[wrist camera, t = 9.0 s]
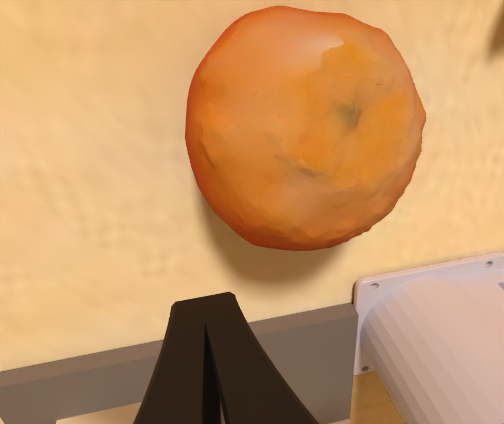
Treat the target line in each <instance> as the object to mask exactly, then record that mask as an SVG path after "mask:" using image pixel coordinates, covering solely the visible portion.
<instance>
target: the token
mask: <svg viewBox="0 0 504 424" xmlns="http://www.w3.org/2000/svg"><path fill="white" fill-rule="evenodd" d="M141 403H142V402H140V403H135V404H130V405H126V406H121V407H116V408H112V409H107V410H102V411H98V412H93V413H88V414H84V415H79V416H74V417H70V418H65V419H60V420H57V421H56V424H133V422H134V420H135V418H136V415H137V413H138V410H139V408H140V406H141Z"/></svg>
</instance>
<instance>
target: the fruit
mask: <svg viewBox="0 0 504 424" xmlns="http://www.w3.org/2000/svg"><path fill="white" fill-rule="evenodd" d="M425 121H426V113H425V110H424V108H423V105H422V102H421V100H420V98H419V95H418V93H417V90H416V88H415V84H414V83H413V80H412V77H411V74H410V71H409V69H408V67H407V65H406V64H405V62H404V60H403V58H402V56H401V54H400V52H399V51H398V50H397V48H396V47H395V45H394V44H393V42H392V40H391V39H390V37H389V36H388V34H386V33H385V32H384V31H383V30H381V29H379V28H375V27H372V26H369V25H367V24H365V23H363V22H361V21H359V20H357V19H355V18H353V17H351V16H349V15H346V14H341V13H325V12H313V11H307V10H302V9H297V8H291V7H286V6H274V7H269V8H265V9H261V10H258V11H254V12H250V13H248V14H245V15H244V16H242V17H241V18H239V19H238V20H236V21H235V22H233V23H232V24H231V25H230V26H229V27H228V28H227V29H226V30H225V31H224V32H223V33H222V35H221V36H220V37H219V39H218V40H217V41H216V42H215V44H214V45H213V46H212V48H211V49H210V50H209V52H208V53H207V54H206V56H205V57H204V59H203V60H202V62H201V63H200V65H199V66H198V68H197V69H196V72H195V74H194V76H193V79H192V82H191V85H190V89H189V94H188V99H187V112H186V129H185V140H186V146H187V151H188V155H189V159H190V163H191V167H192V170H193V173H194V176H195V179H196V182H197V185H198V187H199V189H200V190H201V192H202V194H203V195H204V197H205V198H206V200H207V201H208V203H209V204H210V206H211V207H212V209H213V210H214V211H215V213H216V214H217V215H218V216H219V217H220V218H221V219H222V220H223V221H224V222H226V223H227V224H228V225H229V226H230V227H231V228H232V229H233V230H234V231H235V232H236V233H237V234H238V235H240V236H241V237H242V238H244V239H245V240H247V241H248V242H250V243H252V244H254V245H257V246H261V247H267V248H273V249H281V250H292V251H308V250H317V249H324V248H330V247H333V246H336V245H338V244H341V243H343V242H347V241H349V240H350V239H351V238H353V237H355V236H358V235H361V234H362V233H363V232H367V231H369V230H370V229H371V227H372V226H373V225H374V224H376V223H378V222H379V221H381V220H382V219H383V218H384V217H385V216H387V215H388V214H389V213H390V212H391V211H392V210H393V208H394V207H395V205H396V203H397V201H398V199H399V198H400V197H401V196H402V194H403V193H404V191H405V188H406V187H407V185H408V184H409V183H410V181H411V179H412V175H413V172H414V170H415V167H416V162H417V159H418V157H419V155H420V153H421V144H422V130H423V127H424V124H425Z"/></svg>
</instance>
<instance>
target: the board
mask: <svg viewBox="0 0 504 424" xmlns="http://www.w3.org/2000/svg"><path fill="white" fill-rule="evenodd" d="M358 317H359V314H358V313H357V311H356V309H355V308H354V306H353V304H352V303H347V304H342V305H337V306H332V307H327V308H322V309H317V310H312V311H307V312H302V313H296V314H291V315H286V316H281V317H276V318H271V319H266V320H261V321H256V322H251V323H248V325H249V326H250V328H251V330H252V332H253V333H254V335H255V337H256V338H257V340H258V341H259V343H260V345H261V346H262V348H263V349H264V351H265V352H266V354H267V355H268V357H269V358H270V360H271V361H272V363H273V364H274V366H275V367H276V368H277V370H278V371H279V373H280V374H281V375H282V377H283V378H284V380H285V381H286V382H287V384H288V385H289V386H290V388H291V389H292V390H293V391H294V393H295V394H296V395H297V397H298V398H299V399H300V401H301V402H302V403H303V404H304V406H305V407H306V408H307V409H308V411H309V412H310V413H311V414H312V415H313V417H314V418H315V419H316V420H317V421H318V423H319V424H349V420H350V409H351V397H352V386H353V374H354V363H355V351H356V340H357V328H358ZM163 341H164V340H160V341H155V342H149V343H144V344H139V345H134V346H129V347H124V348H119V349H114V350H109V351H104V352H99V353H94V354H89V355H84V356H78V357H73V358H68V359H63V360H58V361H53V362H48V363H43V364H38V365H33V366H28V367H23V368H18V369H13V370H7V371H2V372H0V417H1V419H2V420H3V422H4V423H5V424H56V421H57V420H60V419H65V418H70V417H74V416H79V415H84V414H88V413H93V412H98V411H102V410H107V409H112V408H116V407H121V406H126V405H130V404H135V403H140V402H142V401H143V398H144V396H145V393H146V391H147V388H148V385H149V382H150V380H151V377H152V374H153V371H154V368H155V365H156V363H157V360H158V357H159V354H160V351H161V347H162V344H163ZM220 406H221V403H220ZM221 424H225V420H224V416H223V411H222V407H221Z"/></svg>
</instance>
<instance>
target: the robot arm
mask: <svg viewBox="0 0 504 424" xmlns="http://www.w3.org/2000/svg"><path fill="white" fill-rule="evenodd" d="M374 283H375V284H374ZM372 284H374V285H372ZM371 285H372V286H371ZM353 306H354V308H355V309H356V311H357V313H358V314H359V317H358V328H357V340H356V351H355V363H354V374H353V375H359V374H364V373H368V372H373V371H376V373H377V375H378V376H379V378H380V380H381V382H382V384H383V386H384V388H385V389H386V391H387V393H388V395H389V397H390V399H391V401H392V402H393V404H394V406H395V408H396V410H397V412H398V413H399V415H400V417H401V419H402V421H403V423H404V424H504V251H501V252H496V253H490V254H485V255H480V256H475V257H469V258H464V259H459V260H454V261H448V262H443V263H438V264H432V265H427V266H422V267H417V268H411V269H406V270H401V271H396V272H390V273H385V274H380V275H375V276H369V277H364V278H361V279H359V280H358V281H357V282H356V284H355V290H354V303H353ZM220 403H221V406H220ZM221 407H222V411H223V416H224V420H225V424H319V423H318V421H317V420H316V419H315V418H314V417H313V415H312V414H311V413H310V412H309V411H308V409H307V408H306V407H305V406H304V404H303V403H302V402H301V401H300V399H299V398H298V397H297V395H296V394H295V393H294V391H293V390H292V389H291V388H290V386H289V385H288V384H287V382H286V381H285V380H284V378H283V377H282V375H281V374H280V373H279V371H278V370H277V368H276V367H275V366H274V364H273V363H272V361H271V360H270V358H269V357H268V355H267V354H266V352H265V351H264V349H263V348H262V346H261V345H260V343H259V341H258V340H257V338H256V337H255V335H254V333H253V332H252V330H251V328H250V326H249V325H248V323H247V321H246V319H245V317H244V315H243V313H242V311H241V309H240V307H239V305H238V302H237V300H236V297H235V295H234V294H232V293H231V292H226V293H220V294H215V295H210V296H204V297H199V298H194V299H188V300H183V301H177V302H175V303H174V304H173V305H172V307H171V312H170V317H169V322H168V326H167V330H166V334H165V337H164V341H163V344H162V347H161V351H160V354H159V357H158V360H157V363H156V365H155V368H154V371H153V374H152V377H151V380H150V382H149V385H148V388H147V391H146V393H145V396H144V398H143V401H142V403H141V406H140V408H139V410H138V413H137V415H136V418H135V420H134V422H133V424H221Z"/></svg>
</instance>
